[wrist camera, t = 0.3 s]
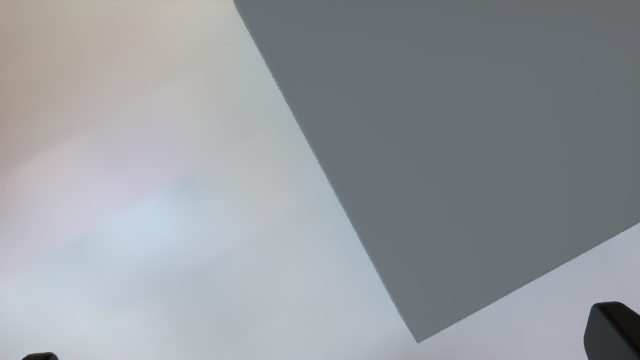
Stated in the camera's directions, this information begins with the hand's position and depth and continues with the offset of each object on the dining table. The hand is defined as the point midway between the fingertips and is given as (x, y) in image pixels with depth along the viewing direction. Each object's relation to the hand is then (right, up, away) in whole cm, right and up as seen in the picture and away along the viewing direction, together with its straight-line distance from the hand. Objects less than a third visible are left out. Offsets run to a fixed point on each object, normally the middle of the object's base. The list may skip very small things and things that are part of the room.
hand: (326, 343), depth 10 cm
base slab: (+6, +7, +13) cm, 16 cm away
